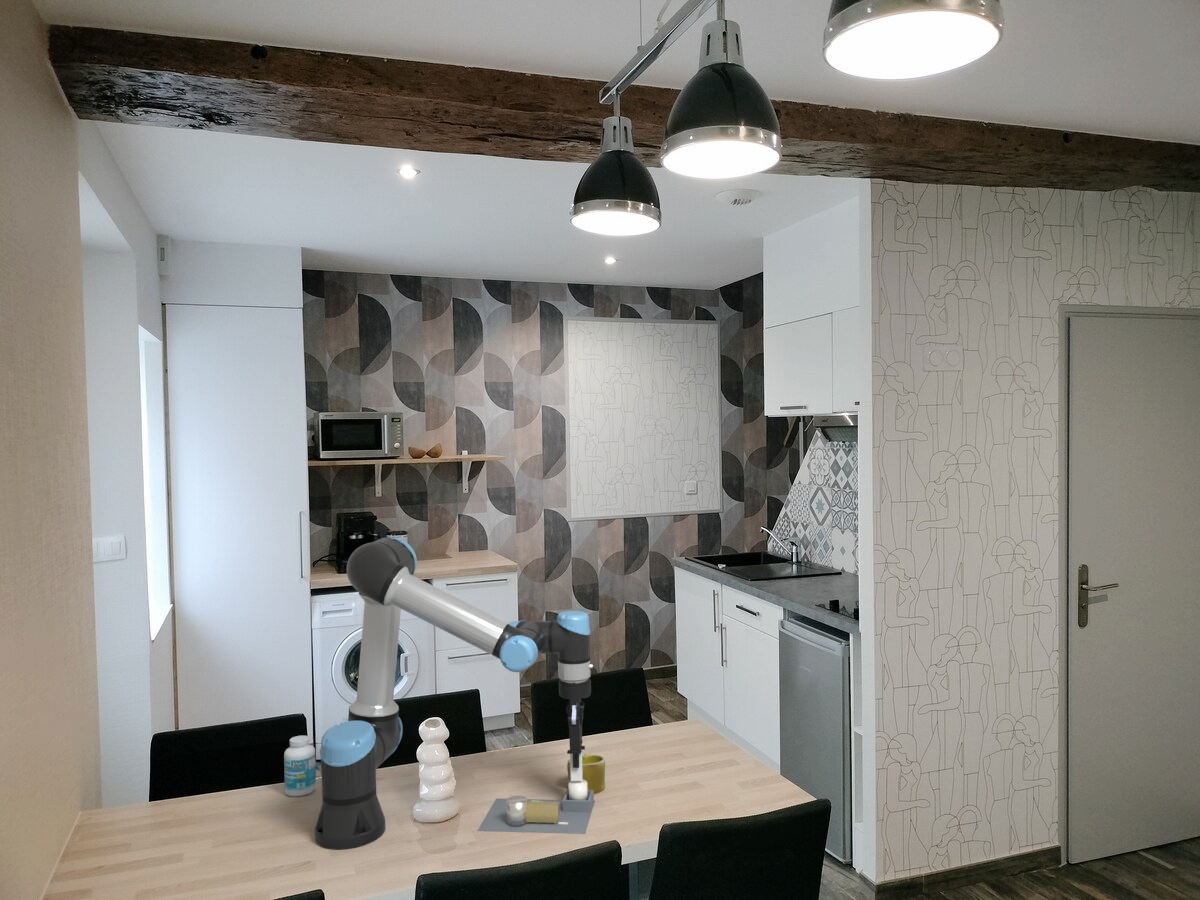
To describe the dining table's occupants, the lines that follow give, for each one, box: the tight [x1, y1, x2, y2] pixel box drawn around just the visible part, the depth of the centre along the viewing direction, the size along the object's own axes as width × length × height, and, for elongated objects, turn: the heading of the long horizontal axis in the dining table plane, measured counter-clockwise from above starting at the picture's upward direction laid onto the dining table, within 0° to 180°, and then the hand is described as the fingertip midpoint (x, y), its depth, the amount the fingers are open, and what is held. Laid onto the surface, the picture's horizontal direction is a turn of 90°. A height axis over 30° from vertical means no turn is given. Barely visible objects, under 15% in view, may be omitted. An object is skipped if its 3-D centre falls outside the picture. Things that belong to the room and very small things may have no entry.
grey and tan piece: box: [506, 795, 560, 826], centre depth 186 cm, size 12×5×5 cm, turn 83°
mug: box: [566, 753, 606, 795], centre depth 207 cm, size 12×10×10 cm
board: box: [477, 789, 596, 835], centre depth 190 cm, size 24×17×4 cm
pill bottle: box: [283, 735, 317, 798], centre depth 211 cm, size 8×7×14 cm
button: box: [568, 780, 588, 800], centre depth 195 cm, size 4×4×4 cm
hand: (576, 779), depth 195 cm, fingers closed
